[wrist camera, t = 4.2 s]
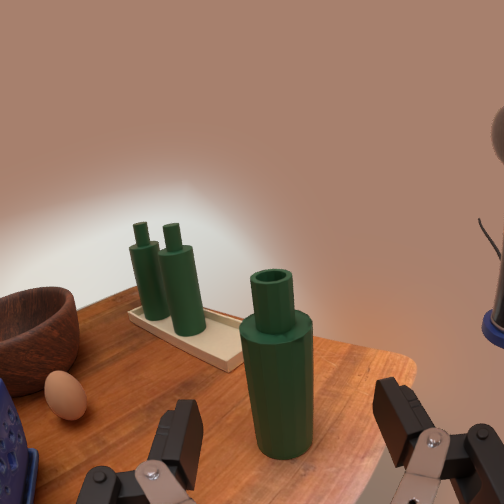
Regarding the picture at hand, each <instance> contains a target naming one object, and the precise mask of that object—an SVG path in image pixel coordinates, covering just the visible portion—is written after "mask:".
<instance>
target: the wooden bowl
mask: <svg viewBox="0 0 504 504" xmlns="http://www.w3.org/2000/svg"><path fill="white" fill-rule="evenodd" d="M78 348H79V323H78V317H77V312H76V306H75V301H74V297H73V295H72V293H71V292H70V291H69V290H67V289H64V288H61V287H40V288H33V289H28V290H25V291H20V292H17V293H13V294H10V295H8V296H5V297H2V298H0V378H1V379H2V380H3V382H4V384H5V386H6V388H7V390H8V392H9V394H10V396H11V397H19V396H24V395H28V394H32V393H35V392H37V391H40V390H42V389H44V387H45V381H46V378H47V377H48V375H49V374H50V373H52V372H54V371H64V372H67V371H68V370H69V369H70V367H71V366H72V364H73V363H74V361H75V359H76V356H77V353H78Z"/></svg>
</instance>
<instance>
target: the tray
mask: <svg viewBox="0 0 504 504" xmlns="http://www.w3.org/2000/svg"><path fill="white" fill-rule="evenodd" d="M203 311H204V316H205V322H206V329H205V330H204V331H203V332H202V333H200V334H198V335H195V336H190V337H182V336H178V335H177V334H176V333H175V332H174V328H173V323H172V319H171V315H170V316H169V317H168V318H166V319H163V320H159V321H149V320H147V319H146V318H145V315H144V312H143V308H142V306H140V307H138V308H136V309H133V310H131V311H129V312H128V315H129V319H130V321H131V322H133V323H135V324H136V325H138V326H140V327H141V328H143V329H145V330H147V331H148V332H150V333H152V334H154V335H156V336H157V337H159V338H161V339H163V340H165V341H167V342H168V343H170V344H172V345H174V346H176V347H178V348H180V349H182V350H183V351H185V352H187V353H189V354H191V355H193V356H195V357H197V358H199V359H201V360H203V361H205V362H207V363H209V364H211V365H213V366H215V367H217V368H220V369H222V370H224V371H226V372H228V373H229V372H231V371H232V370H233V369H235V368H236V367H238V366H239V365H240V364H242V363H243V362H244V359H243V352H242V345H241V339H240V332H239V326H240V324H241V322H242V321H240V320H237V319H234V318H231V317H228V316H225V315H222V314H219V313H216V312H213V311H210V310H207V309H204V308H203Z"/></svg>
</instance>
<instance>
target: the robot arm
mask: <svg viewBox="0 0 504 504" xmlns="http://www.w3.org/2000/svg"><path fill="white" fill-rule="evenodd" d="M491 141H492V146H493V149H494V152H495V154H496V156H497V157H498V159H499V160H500V161H501V163H503V164H504V106H503V107H502V108H500V109H499V110H498V112H497V113H496V115H495V117H494V119H493V123H492V127H491ZM478 220H479V225H480V227H481V229H482V231H483V232H484V234H485V235H486V237H487V238H488V240H489V241H490V243H491V244H492V246H493V247H494V249H495V251H496V252H497V254H498V256H499V259H500V261H501V262H500V269H499V276H498V283H497V289H496V295H495V300H494V306H493V310H492V313H491V317H490V322H491V324H492V326H493V327H494V328H495V329H496V330H498V331H499V332H501V333H503V334H504V229H503V243H502V253H501V254H500V252H499V250H498V248H497V247H496V245H495V244H494V242H493V241H492V239H491V238H490V237H489V235H488V234H487V232H486V231H485V229H484V228H483V226H482V224H481V221H480V219H478ZM373 414H374V417H375V419H376V422H377V424H378V426H379V429H380V431H381V434H382V436H383V438H384V441H385V443H386V446H387V448H388V450H389V453H390V455H391V458H392V460H393V463H394V465H395V467H396V468H397V467H400V466H404V468H405V470H406V471H405V473H404V475H403V477H402V480H401V482H400V484H399V486H398V489H397V491H396V493H395V495H394V497H393V499H392V501H391V503H390V504H433V502H434V499H435V497H436V494H437V491H438V488H439V485H440V481H441V480H445V479H450V481H451V484H452V486H453V488H454V491H455V493H456V496H457V498H458V501H459V504H504V444H503V443H502V441H501V440H500V438H499V436H498V435H497V433H496V432H495V430H494V429H493V428H492V427H491V426H489V425H487V424H476V425H474V426H472V427H471V428H470V429H469V431H468V433H466V434H458V435H457V434H456V435H449V434H448V433H447V432H446V431H444V430H443V429H440V428H436V427H435V426H434V424H433V423H432V421H431V419H430V417H429V416H428V414H427V412H426V411H425V409H424V408H423V406H422V405H421V403H420V401H419V400H418V398H417V396H416V395H415V393H414V391H413V390H411V389H410V388H408V387H407V386H406V385H402V386H399V385H398V383H397V381H396V380H395V378H394V377H389V378H385V379H380V380H377V381H376V386H375V393H374V399H373ZM202 439H203V423H202V419H201V416H200V413H199V409H198V406H197V402H196V400H178V401H177V404H176V408H175V410H168V411H167V412H166V413H165V414H164V415H163V416H162V417H161V419H160V422H159V425H158V428H157V431H156V435H155V437H154V440H153V443H152V447H151V450H150V453H149V456H148V459H147V461H145V462H143V463H141V464H140V465H139V466H138V467H137V468H136V470H133V471H127V472H119V473H115V472H114V471H113V470H112V469H111V468H110V467H107V466H97V467H94V468H92V469H91V470H90V471H89V472H88V473H87V475H86V477H85V480H84V482H83V485H82V488H81V490H80V493H79V496H78V499H77V502H76V504H196V502H195V501H194V500H193V499H192V498H190V497H189V496H188V494H187V493H186V490H194V487H195V481H196V475H197V469H198V463H199V457H200V451H201V445H202Z"/></svg>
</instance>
